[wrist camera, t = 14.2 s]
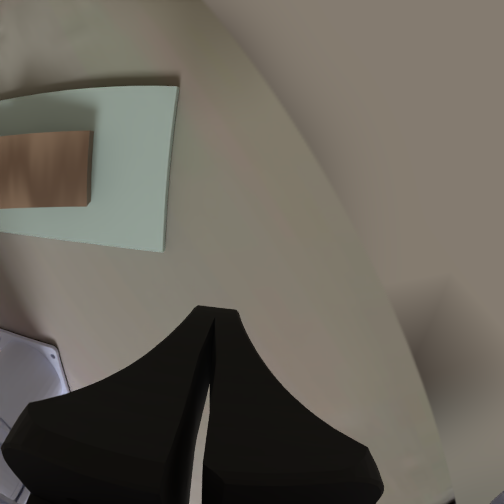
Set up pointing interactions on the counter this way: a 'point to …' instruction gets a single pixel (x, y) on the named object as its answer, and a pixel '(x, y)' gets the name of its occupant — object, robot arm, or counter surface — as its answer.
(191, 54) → the counter surface
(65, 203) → the domino
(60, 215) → the board
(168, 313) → the counter surface
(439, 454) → the counter surface
